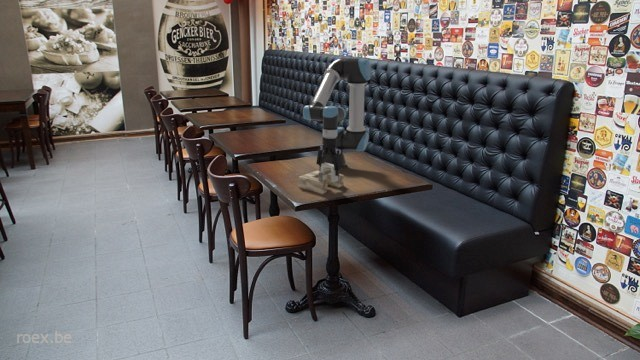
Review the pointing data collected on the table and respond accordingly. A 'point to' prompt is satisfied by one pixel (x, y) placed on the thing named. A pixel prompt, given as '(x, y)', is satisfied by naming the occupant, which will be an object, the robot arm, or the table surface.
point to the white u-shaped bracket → (324, 168)
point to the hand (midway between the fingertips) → (328, 179)
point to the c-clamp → (319, 181)
